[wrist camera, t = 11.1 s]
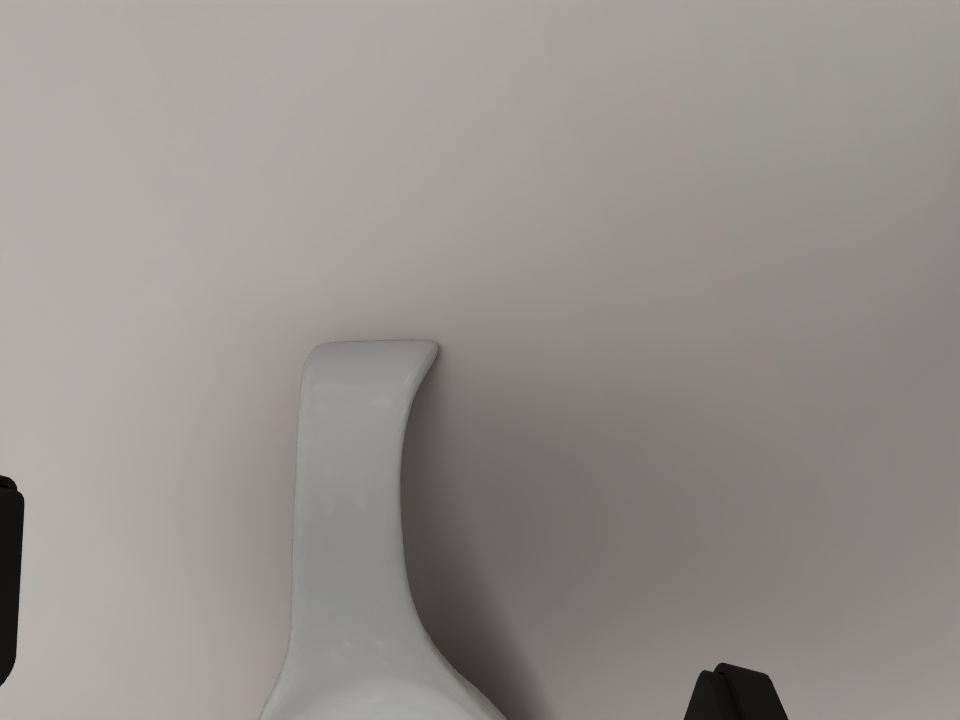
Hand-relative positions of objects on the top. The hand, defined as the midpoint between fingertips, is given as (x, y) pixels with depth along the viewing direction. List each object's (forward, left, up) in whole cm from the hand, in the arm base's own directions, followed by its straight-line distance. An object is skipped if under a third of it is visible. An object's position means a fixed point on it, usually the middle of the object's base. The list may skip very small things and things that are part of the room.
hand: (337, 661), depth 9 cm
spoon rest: (0, +11, -18) cm, 21 cm away
